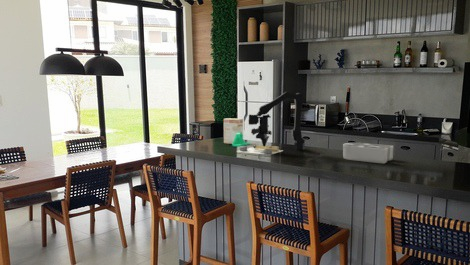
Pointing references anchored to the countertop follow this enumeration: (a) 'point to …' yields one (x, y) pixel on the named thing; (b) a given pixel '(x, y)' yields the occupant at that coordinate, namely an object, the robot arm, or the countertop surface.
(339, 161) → the countertop surface
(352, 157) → the ice cube tray
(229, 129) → the coffeecake box
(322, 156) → the countertop surface
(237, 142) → the green tapered piece
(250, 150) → the leveling plate
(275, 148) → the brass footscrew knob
